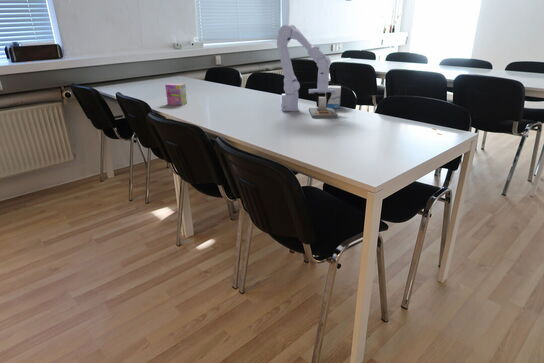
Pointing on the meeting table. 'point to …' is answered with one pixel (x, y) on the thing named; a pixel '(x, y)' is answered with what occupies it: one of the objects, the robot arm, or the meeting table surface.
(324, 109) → the steel peg
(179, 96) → the box
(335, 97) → the ink box
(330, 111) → the socket board
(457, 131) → the meeting table surface
